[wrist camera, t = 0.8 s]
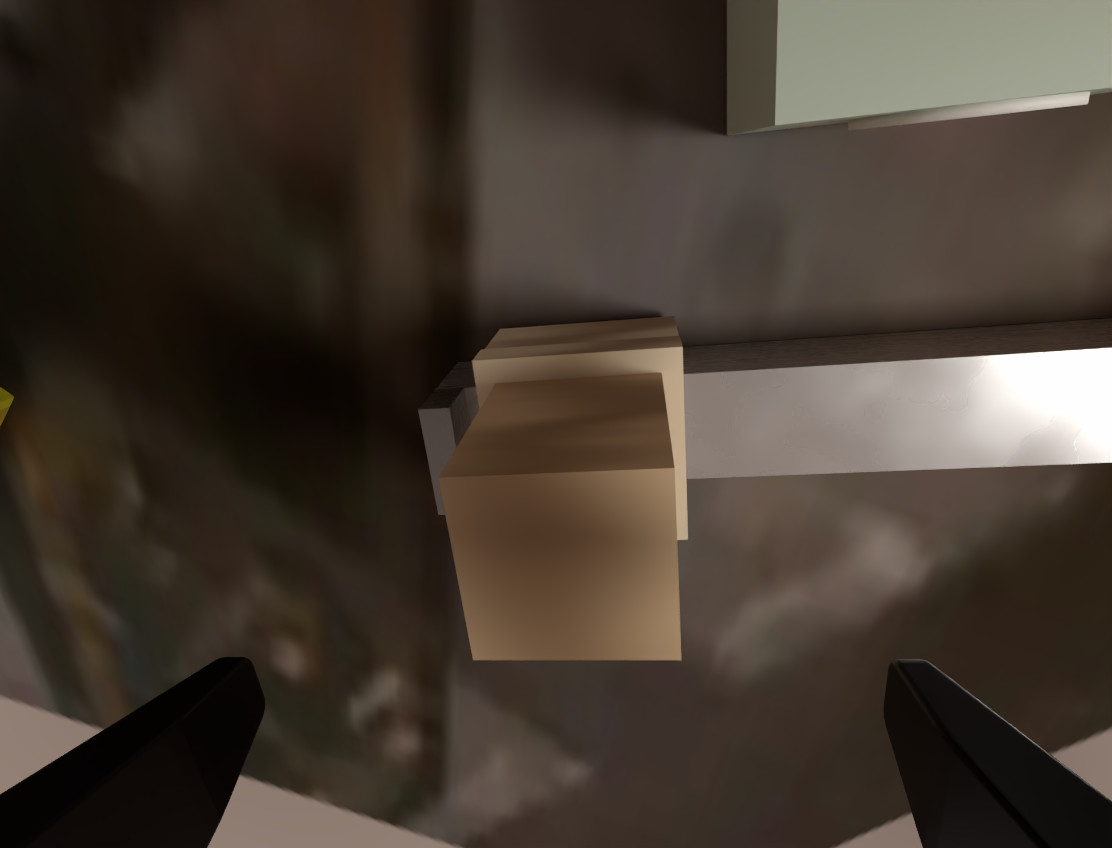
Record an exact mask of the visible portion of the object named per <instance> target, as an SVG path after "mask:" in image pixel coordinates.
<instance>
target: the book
mask: <svg viewBox="0 0 1112 848" xmlns="http://www.w3.org/2000/svg"><path fill="white" fill-rule="evenodd" d="M13 399H14V396H13V395H11V394H10V393H8V392H7V391H6V390H4V389H3V388H1V387H0V426H1V424H2V422H3V420H4V418H5V416H6V413H7V411H8V409H9V407H10V405H11V403H12V401H13Z"/></svg>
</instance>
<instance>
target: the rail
mask: <svg viewBox="0 0 1112 848" xmlns="http://www.w3.org/2000/svg"><path fill="white" fill-rule="evenodd" d="M683 377H684V414H685V450H686V479H696V478H721V477H747V476H773V475H799V474H825V473H851V472H877V471H902V470H928V469H954V468H980V467H1006V466H1032V465H1058V464H1083V463H1109V462H1112V318H1109V319H1094V320H1079V321H1064V322H1049V323H1034V324H1019V325H1004V326H989V327H974V328H959V329H944V330H930V331H915V332H900V333H885V334H870V335H855V336H840V337H825V338H810V339H795V340H780V341H765V342H750V343H736V344H721V345H706V346H691V347H683ZM479 410H480V409H479V403H478V396H477V390H476V384H475V377H474V371H473V364H472V361H467V362H458V363H457V364H456V365H455V367H454V368H453V369H452V370H451V371H450V372H449V374H448V375H447V376H446V377H445V378H444V380H443V381H442V382H441V383H440V384H439V385H438V387H437V388H436V389H435V390H434V391H433V393H432V394H431V395H430V396H429V397H428V398H427V400H426V401H425V402H424V403H423V404H422V406H421V407H420V408H419V409H418V412H419V417H420V422H421V427H422V432H423V438H424V443H425V448H426V453H427V458H428V463H429V468H430V474H431V479H432V484H433V489H434V494H435V499H436V504H437V509H438V515H446V514H445V509H444V504H443V499H442V493H441V488H440V483H439V476H440V475H441V473H442V471H443V470H444V468H445V466H446V465H447V463H448V461H449V460H450V458H451V456H452V455H453V453H454V451H455V450H456V448H457V446H458V445H459V443H460V441H461V440H462V438H463V436H464V435H465V433H466V431H467V430H468V428H469V426H470V425H471V423H472V421H473V420H474V418H475V416H476V415H477V413H478V411H479Z"/></svg>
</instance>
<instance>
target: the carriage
mask: <svg viewBox="0 0 1112 848" xmlns="http://www.w3.org/2000/svg"><path fill="white" fill-rule="evenodd" d="M472 364H473V371H474V377H475V384H476V390H477V396H478V403H479V409H480V410H479V411H478V413H477V415H476V416H475V418H474V420H473V421H472V423H471V425H470V426H469V428H468V430H467V431H466V433H465V435H464V436H463V438H462V440H461V441H460V443H459V445H458V446H457V448H456V450H455V451H454V453H453V455H452V456H451V458H450V460H449V461H448V463H447V465H446V466H445V468H444V470H443V471H442V473H441V475H440V476H439V483H440V488H441V493H442V499H443V504H444V509H445V514H446V520H447V525H448V530H449V535H450V541H451V546H452V551H453V556H454V562H455V567H456V572H457V577H458V583H459V588H460V593H461V598H462V604H463V609H464V614H465V619H466V625H467V630H468V635H469V641H470V646H471V651H472V656H473V660H681V636H680V607H679V578H678V550H677V540H688V523H687V487H686V450H685V414H684V377H683V346H682V342H681V339H680V336H679V334H678V331H677V327H676V323H675V319H674V316H669V317H655V318H642V319H628V320H615V321H601V322H588V323H574V324H561V325H547V326H533V327H520V328H506V329H500V330H499V331H498V332H497V334H496V335H495V336H494V337H493V339H492V340H491V341H490V343H489V344H488V345H487V347H486V348H485V349H481V350H480V351H479V352H478V354H477V355H476V356H475V358H474V359H473V360H472Z"/></svg>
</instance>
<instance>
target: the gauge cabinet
mask: <svg viewBox="0 0 1112 848" xmlns="http://www.w3.org/2000/svg"><path fill="white" fill-rule="evenodd" d="M1108 92H1112V0H727V136H729V135H738V134H747V133H756V132H765V131H774V130H783V129H792V128H801V127H810V126H819V125H828V124H837V123H846V122H848V131H850V130H860V129H869V128H878V127H888V126H897V125H906V124H915V123H924V122H933V121H943V120H952V119H961V118H970V117H979V116H988V115H997V114H1006V113H1015V112H1024V111H1033V110H1041V109H1050V108H1059V107H1068V106H1077V105H1085V104H1088V101H1089V96H1090V95H1093V94H1101V93H1108Z"/></svg>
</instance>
